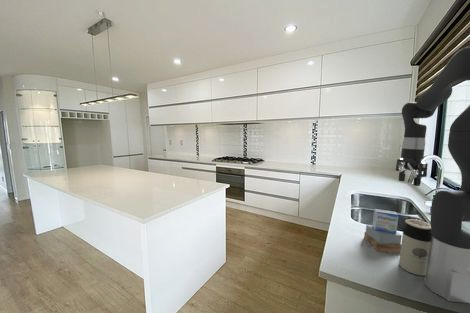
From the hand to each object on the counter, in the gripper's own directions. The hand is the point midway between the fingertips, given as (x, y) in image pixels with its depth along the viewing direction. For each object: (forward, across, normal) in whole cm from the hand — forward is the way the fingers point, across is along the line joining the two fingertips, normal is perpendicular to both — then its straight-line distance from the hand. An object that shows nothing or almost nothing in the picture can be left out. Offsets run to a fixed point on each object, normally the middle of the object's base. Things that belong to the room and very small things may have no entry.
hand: (408, 183), depth 88 cm
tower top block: (+25, -5, +12) cm, 28 cm away
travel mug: (+28, -20, +10) cm, 36 cm away
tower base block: (+29, -5, +12) cm, 31 cm away
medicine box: (+21, -5, +12) cm, 24 cm away
